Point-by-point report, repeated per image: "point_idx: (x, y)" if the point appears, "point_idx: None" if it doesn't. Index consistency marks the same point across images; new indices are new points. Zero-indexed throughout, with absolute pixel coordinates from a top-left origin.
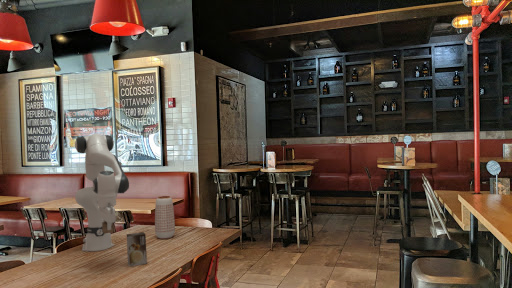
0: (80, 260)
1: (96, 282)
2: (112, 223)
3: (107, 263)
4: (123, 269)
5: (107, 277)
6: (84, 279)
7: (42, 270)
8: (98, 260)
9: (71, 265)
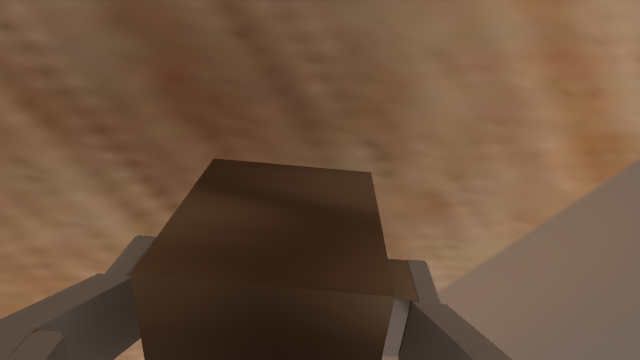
0: (22, 172)
1: (522, 221)
2: (388, 295)
3: (199, 60)
4: (431, 18)
5: (497, 155)
6: (418, 248)
7: None
8: (83, 86)
9: (109, 233)
